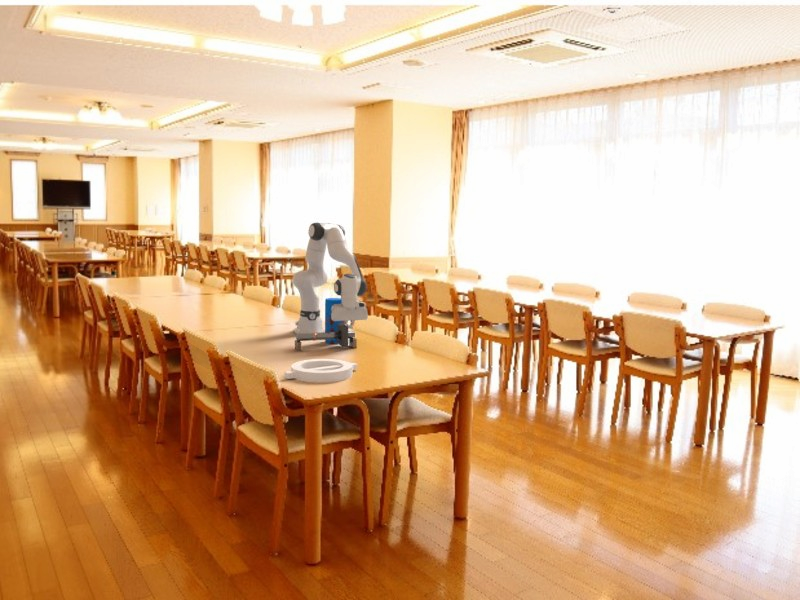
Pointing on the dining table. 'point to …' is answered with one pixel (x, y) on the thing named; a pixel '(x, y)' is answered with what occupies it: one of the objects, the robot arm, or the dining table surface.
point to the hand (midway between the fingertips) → (349, 328)
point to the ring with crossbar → (321, 370)
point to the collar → (343, 335)
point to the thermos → (329, 323)
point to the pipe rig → (324, 338)
